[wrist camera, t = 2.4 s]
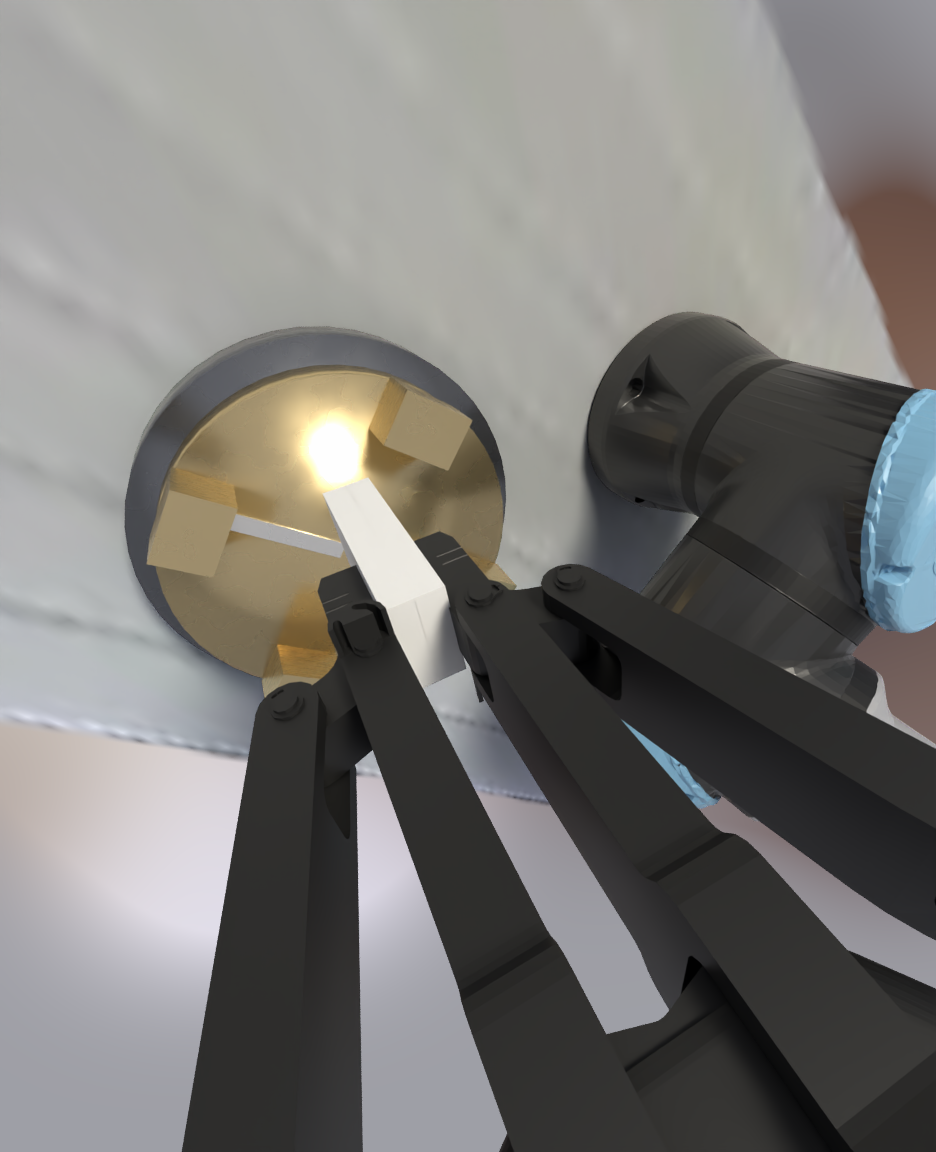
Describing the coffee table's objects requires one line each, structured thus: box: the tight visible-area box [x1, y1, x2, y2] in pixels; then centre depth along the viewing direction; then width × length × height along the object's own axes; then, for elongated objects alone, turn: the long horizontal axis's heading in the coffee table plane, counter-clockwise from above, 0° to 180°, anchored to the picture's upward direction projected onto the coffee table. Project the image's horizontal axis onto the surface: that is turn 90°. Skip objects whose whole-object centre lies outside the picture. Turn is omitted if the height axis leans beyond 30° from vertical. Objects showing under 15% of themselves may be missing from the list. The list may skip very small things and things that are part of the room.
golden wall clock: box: [147, 365, 516, 698], centre depth 33 cm, size 21×21×6 cm
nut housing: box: [125, 327, 506, 660], centre depth 37 cm, size 24×24×3 cm
